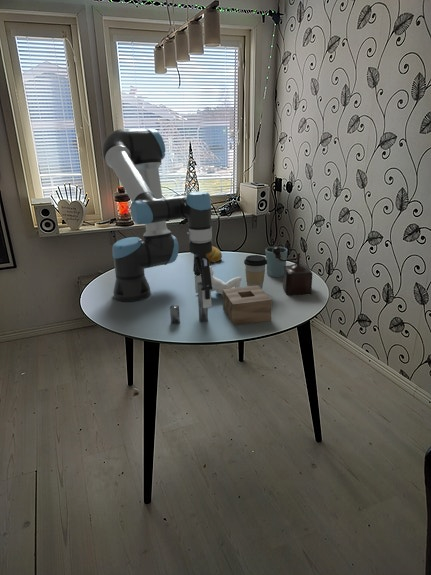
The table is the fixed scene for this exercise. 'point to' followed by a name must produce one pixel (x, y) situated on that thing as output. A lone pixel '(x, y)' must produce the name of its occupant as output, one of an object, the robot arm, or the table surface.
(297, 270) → the manual coffee grinder
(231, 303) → the pin block
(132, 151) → the robot arm
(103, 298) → the table surface
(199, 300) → the long pin
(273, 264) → the light blue mug
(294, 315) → the table surface
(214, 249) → the bread roll
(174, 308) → the short pin
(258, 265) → the coffee cup
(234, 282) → the person figurine
